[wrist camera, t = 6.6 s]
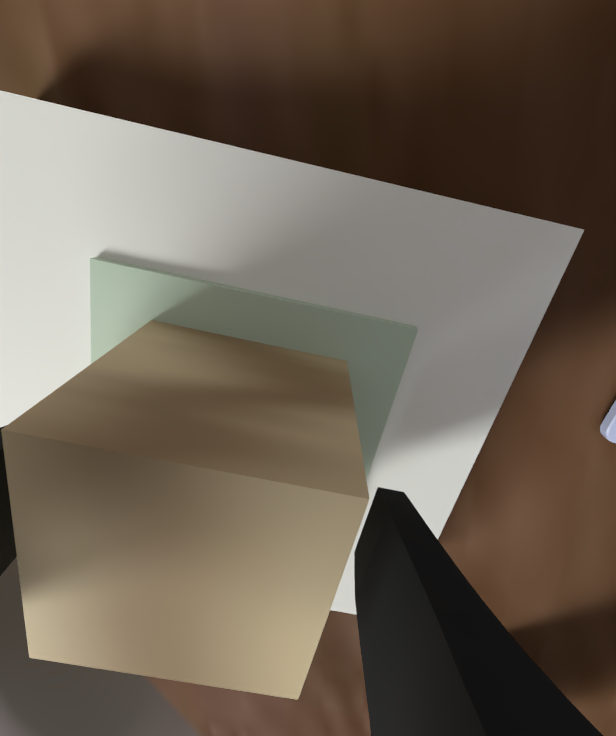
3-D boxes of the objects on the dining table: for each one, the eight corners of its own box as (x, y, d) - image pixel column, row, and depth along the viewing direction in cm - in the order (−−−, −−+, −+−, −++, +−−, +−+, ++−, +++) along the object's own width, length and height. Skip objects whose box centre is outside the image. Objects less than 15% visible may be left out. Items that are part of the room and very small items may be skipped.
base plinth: (529, 223, 11) (592, 230, 9) (388, 563, 17) (400, 629, 14) (31, 104, 10) (-65, 73, 8) (55, 504, 16) (5, 563, 13)
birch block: (346, 360, 10) (369, 499, 5) (306, 507, 12) (297, 699, 7) (151, 320, 10) (1, 429, 5) (143, 477, 12) (29, 657, 7)
